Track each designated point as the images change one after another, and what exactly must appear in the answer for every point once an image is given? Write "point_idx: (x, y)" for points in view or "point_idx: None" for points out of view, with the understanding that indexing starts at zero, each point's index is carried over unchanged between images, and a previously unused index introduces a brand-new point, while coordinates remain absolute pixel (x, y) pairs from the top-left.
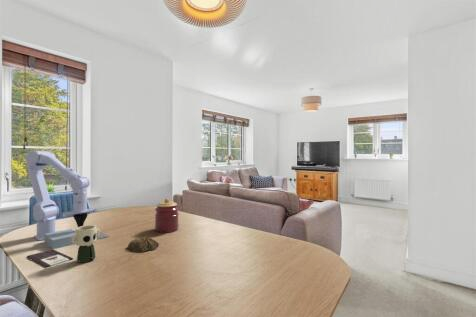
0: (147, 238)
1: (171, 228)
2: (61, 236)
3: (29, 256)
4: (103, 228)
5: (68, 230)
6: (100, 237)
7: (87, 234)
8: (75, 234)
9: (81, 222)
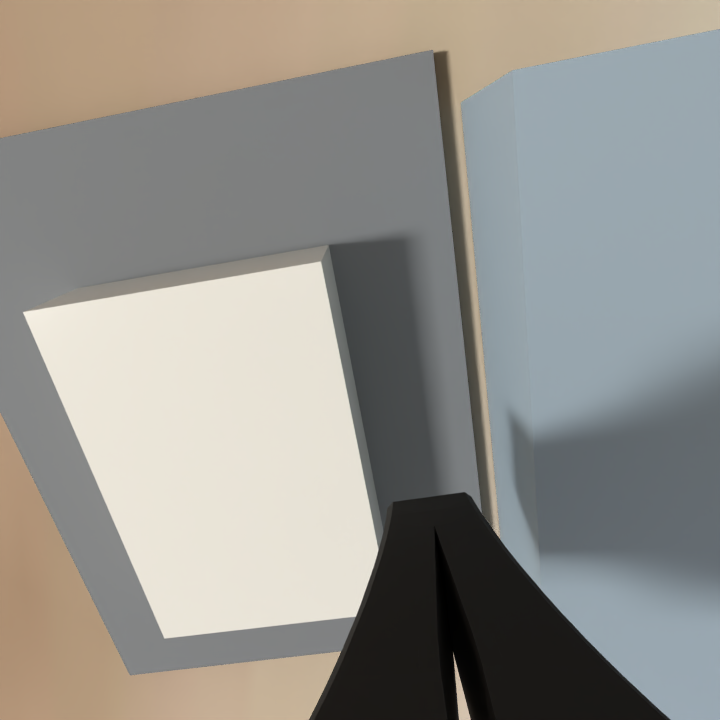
0: None
1: None
2: None
3: None
4: (36, 715)
5: (630, 658)
6: (55, 190)
7: None
8: (635, 178)
9: (445, 685)
